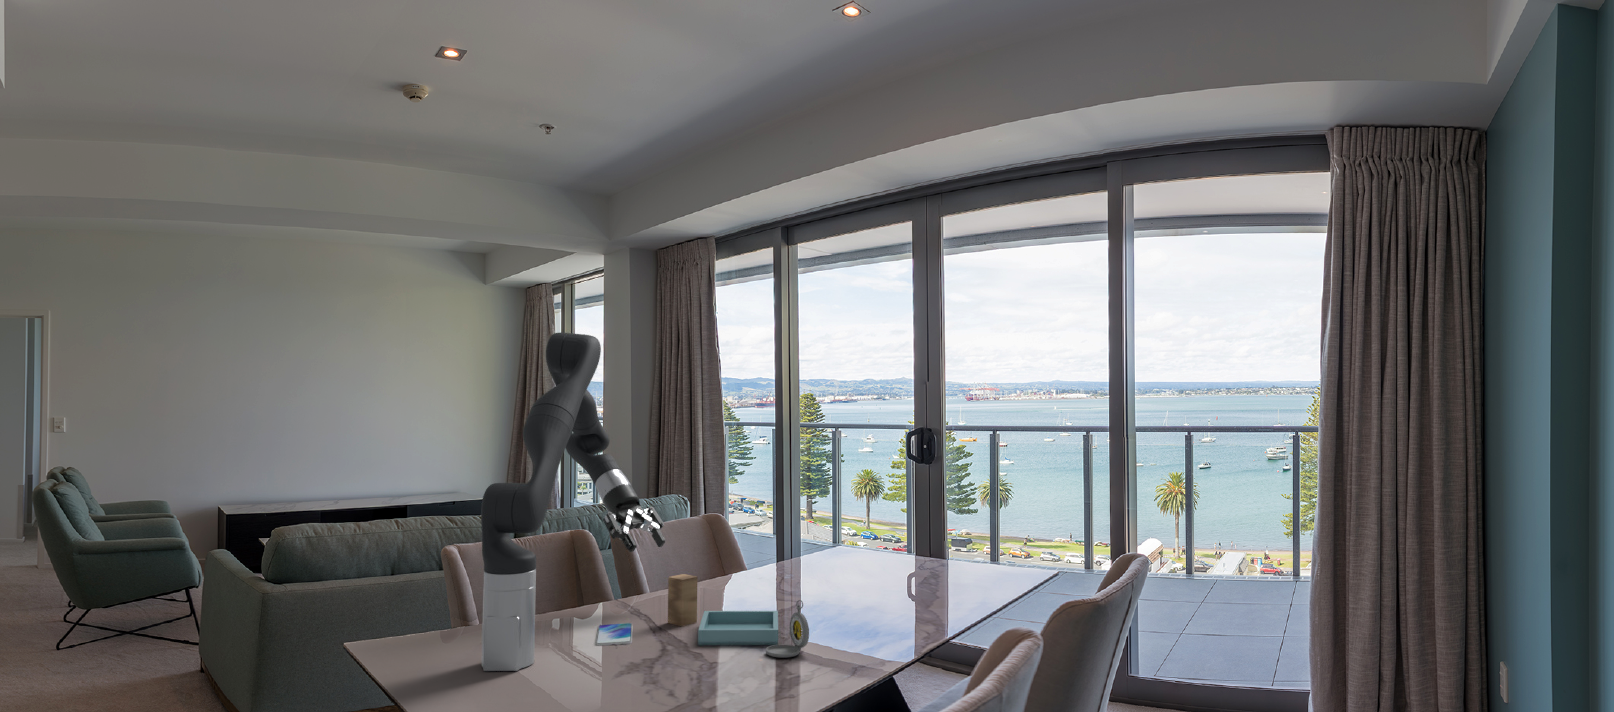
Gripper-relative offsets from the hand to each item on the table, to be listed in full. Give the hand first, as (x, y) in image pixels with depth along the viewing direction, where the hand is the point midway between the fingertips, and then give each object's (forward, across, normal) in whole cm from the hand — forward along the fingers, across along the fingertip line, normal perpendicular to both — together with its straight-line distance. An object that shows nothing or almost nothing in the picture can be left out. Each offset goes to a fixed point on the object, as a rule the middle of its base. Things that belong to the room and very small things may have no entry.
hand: (648, 547), depth 201 cm
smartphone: (+17, -16, +5) cm, 24 cm away
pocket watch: (+42, -3, -21) cm, 48 cm away
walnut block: (+19, 0, +2) cm, 19 cm away
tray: (+30, +1, -9) cm, 32 cm away
